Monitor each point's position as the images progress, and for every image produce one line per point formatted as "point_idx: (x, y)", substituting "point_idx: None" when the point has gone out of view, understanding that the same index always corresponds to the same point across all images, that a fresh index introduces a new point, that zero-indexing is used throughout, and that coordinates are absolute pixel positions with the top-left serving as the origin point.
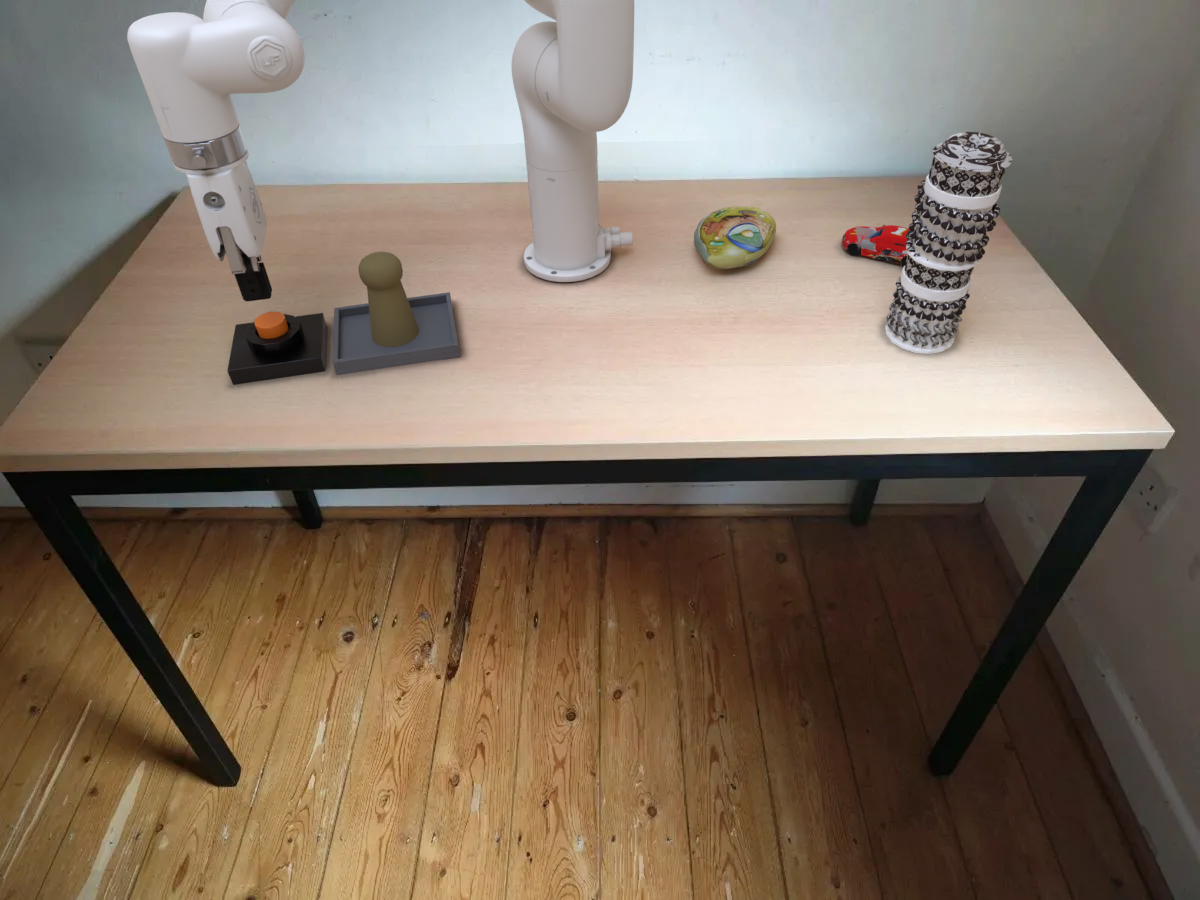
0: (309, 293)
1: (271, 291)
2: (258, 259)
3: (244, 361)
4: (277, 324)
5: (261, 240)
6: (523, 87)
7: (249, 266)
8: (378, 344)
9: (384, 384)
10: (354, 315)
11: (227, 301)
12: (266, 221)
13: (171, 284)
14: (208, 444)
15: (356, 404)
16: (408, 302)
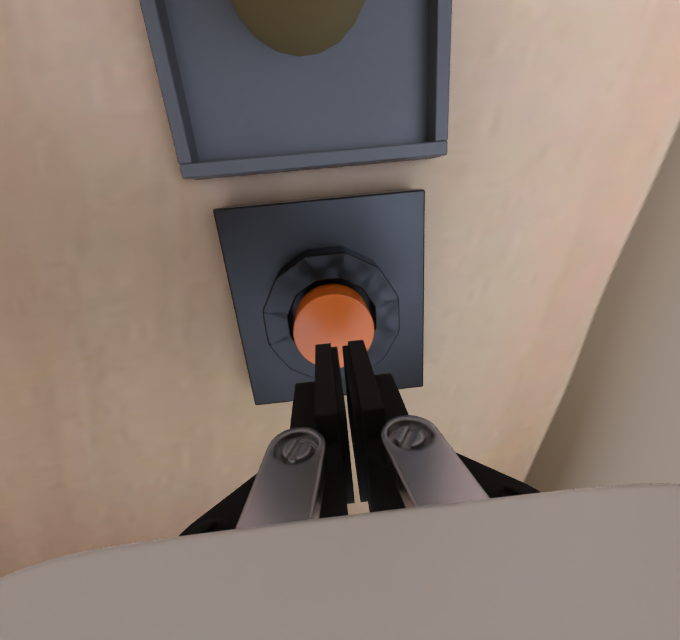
0: (70, 271)
1: (329, 344)
2: (324, 445)
3: (398, 361)
4: (362, 308)
5: (618, 563)
6: None
7: (506, 482)
8: (350, 28)
9: (503, 15)
10: (192, 122)
11: (122, 435)
12: (29, 574)
13: (70, 533)
14: (563, 372)
15: (556, 95)
16: None
